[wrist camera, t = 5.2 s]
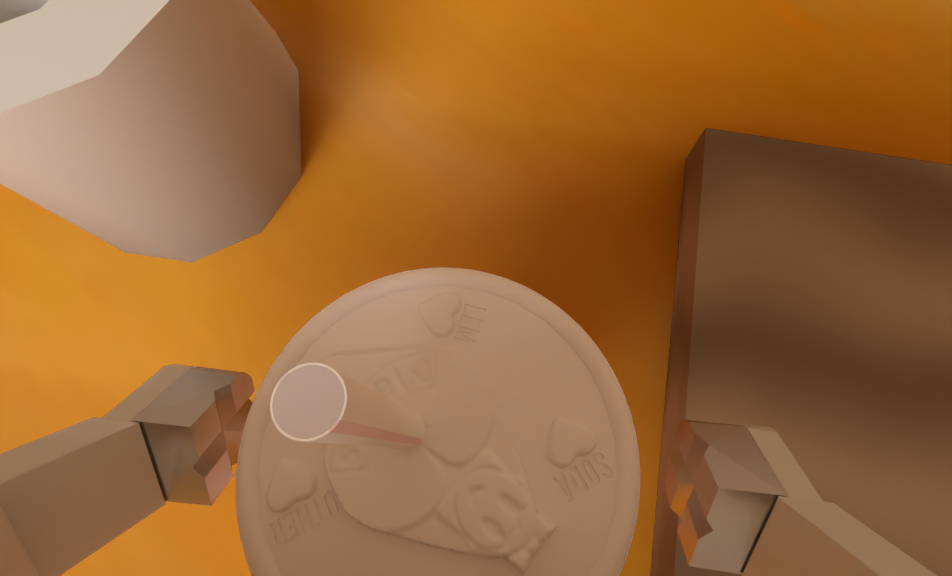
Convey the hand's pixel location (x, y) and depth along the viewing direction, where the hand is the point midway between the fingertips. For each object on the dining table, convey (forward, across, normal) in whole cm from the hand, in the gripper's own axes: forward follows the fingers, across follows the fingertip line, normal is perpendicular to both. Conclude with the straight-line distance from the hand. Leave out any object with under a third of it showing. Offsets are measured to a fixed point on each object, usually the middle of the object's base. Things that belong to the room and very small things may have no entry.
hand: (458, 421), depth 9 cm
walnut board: (+7, -13, +4) cm, 15 cm away
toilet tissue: (+14, +13, -2) cm, 19 cm away
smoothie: (+5, 0, +6) cm, 8 cm away
